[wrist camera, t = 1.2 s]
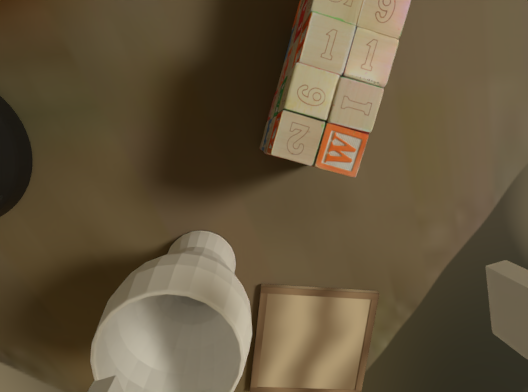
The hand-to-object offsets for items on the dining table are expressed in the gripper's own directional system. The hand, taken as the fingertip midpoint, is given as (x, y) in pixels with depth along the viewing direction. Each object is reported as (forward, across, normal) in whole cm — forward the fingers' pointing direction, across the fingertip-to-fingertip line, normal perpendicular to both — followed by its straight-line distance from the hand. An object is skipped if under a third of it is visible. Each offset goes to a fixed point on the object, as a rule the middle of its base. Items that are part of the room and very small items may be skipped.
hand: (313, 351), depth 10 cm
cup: (+23, -8, -5) cm, 25 cm away
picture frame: (+22, +2, -18) cm, 29 cm away
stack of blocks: (+23, +9, +13) cm, 28 cm away
